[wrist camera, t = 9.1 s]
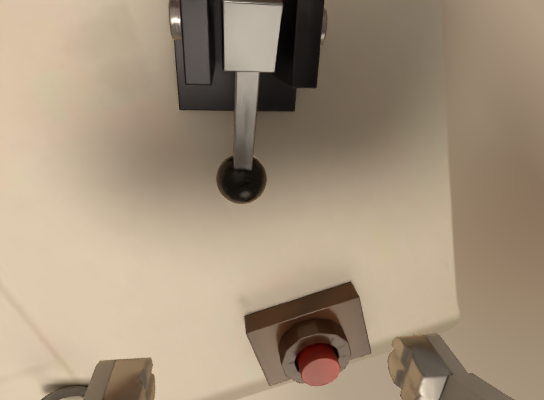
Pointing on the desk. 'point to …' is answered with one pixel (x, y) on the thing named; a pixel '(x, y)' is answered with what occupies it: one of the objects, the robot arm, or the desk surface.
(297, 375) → the panel
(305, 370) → the button
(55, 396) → the wristwatch
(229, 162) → the ball knob lever
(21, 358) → the desk surface
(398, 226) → the desk surface
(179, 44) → the black lever stand
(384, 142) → the desk surface
